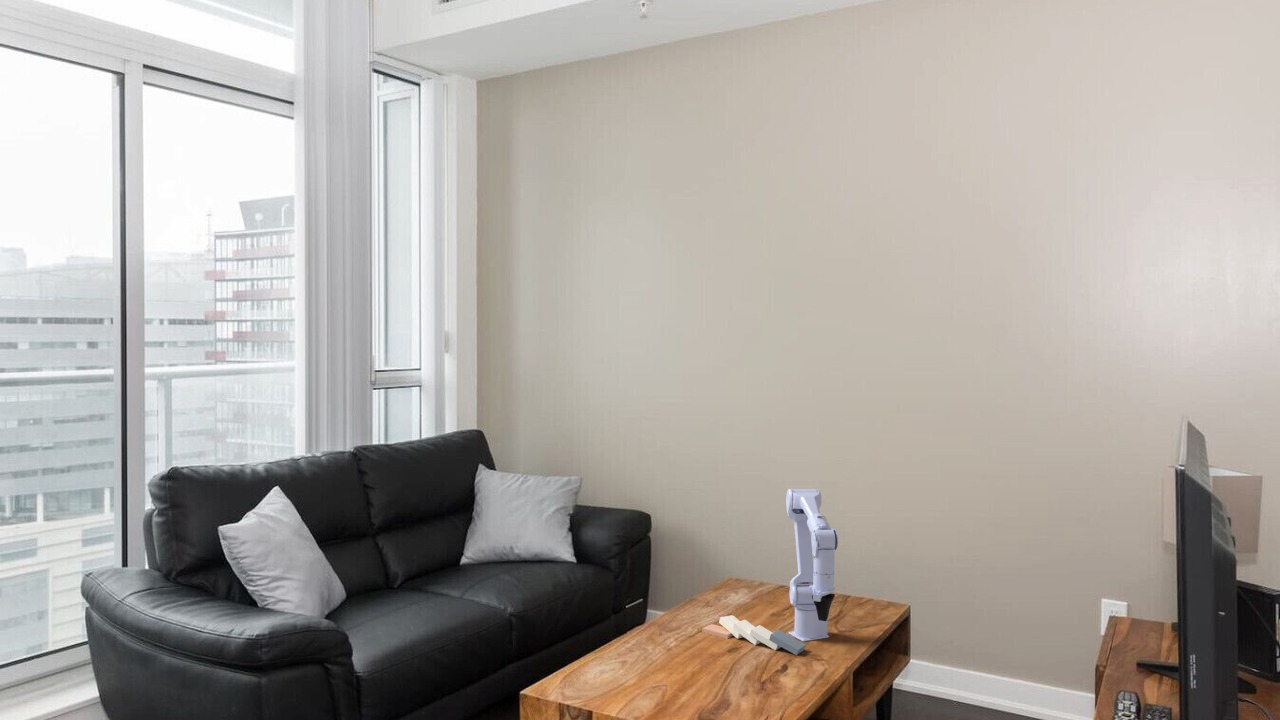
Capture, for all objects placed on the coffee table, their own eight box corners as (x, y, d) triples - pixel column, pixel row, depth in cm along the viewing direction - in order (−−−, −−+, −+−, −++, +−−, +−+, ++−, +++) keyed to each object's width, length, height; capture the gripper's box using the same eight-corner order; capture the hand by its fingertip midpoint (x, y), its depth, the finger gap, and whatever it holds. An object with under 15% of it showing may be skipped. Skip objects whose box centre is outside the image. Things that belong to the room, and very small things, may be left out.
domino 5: (805, 644, 266) (778, 629, 271) (798, 649, 262) (770, 634, 267) (804, 650, 267) (777, 635, 272) (796, 655, 263) (769, 640, 267)
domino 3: (767, 635, 273) (744, 619, 279) (756, 639, 270) (734, 623, 276) (765, 641, 274) (743, 624, 280) (755, 645, 270) (732, 628, 276)
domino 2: (751, 631, 277) (732, 615, 284) (738, 633, 275) (720, 617, 282) (750, 636, 278) (731, 620, 285) (737, 638, 275) (718, 622, 282)
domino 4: (785, 640, 270) (759, 624, 275) (777, 645, 266) (751, 629, 271) (783, 645, 270) (757, 630, 275) (775, 650, 266) (749, 634, 271)
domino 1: (736, 630, 280) (711, 624, 285) (727, 634, 276) (702, 628, 281) (736, 636, 280) (711, 629, 285) (727, 640, 276) (702, 634, 282)
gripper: (816, 564, 269) (815, 611, 269) (802, 576, 256) (801, 625, 256) (840, 567, 266) (840, 614, 266) (827, 579, 253) (826, 629, 253)
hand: (822, 620), depth 261 cm, fingers closed
